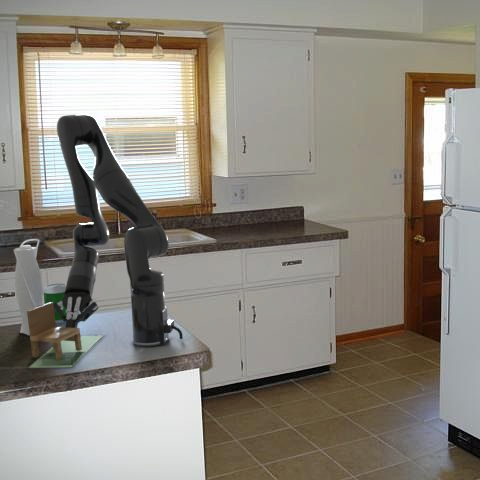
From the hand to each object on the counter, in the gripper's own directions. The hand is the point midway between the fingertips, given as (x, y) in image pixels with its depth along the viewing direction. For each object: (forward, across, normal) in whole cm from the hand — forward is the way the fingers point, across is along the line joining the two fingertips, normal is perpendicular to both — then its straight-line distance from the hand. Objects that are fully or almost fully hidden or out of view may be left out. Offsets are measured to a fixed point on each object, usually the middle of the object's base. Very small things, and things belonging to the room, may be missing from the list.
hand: (69, 333), depth 201 cm
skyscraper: (-9, -17, +15) cm, 24 cm away
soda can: (-16, -13, +22) cm, 30 cm away
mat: (+5, 0, +2) cm, 5 cm away
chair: (+6, -2, 0) cm, 7 cm away
